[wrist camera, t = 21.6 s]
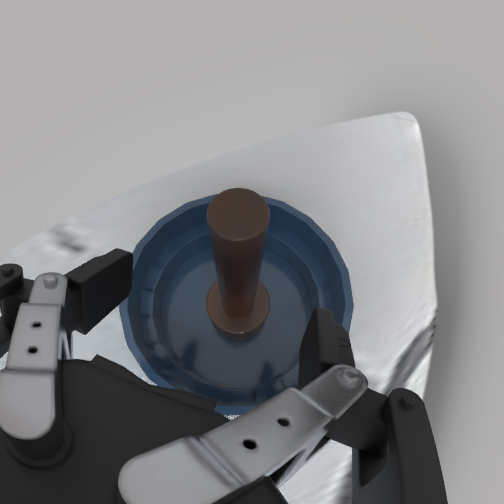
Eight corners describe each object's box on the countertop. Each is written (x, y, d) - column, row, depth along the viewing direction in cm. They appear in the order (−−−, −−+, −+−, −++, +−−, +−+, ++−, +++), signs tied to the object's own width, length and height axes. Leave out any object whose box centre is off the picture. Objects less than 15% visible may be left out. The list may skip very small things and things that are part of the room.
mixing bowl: (119, 369, 21) (88, 363, 16) (182, 212, 27) (172, 175, 22) (304, 428, 20) (323, 439, 15) (342, 255, 26) (364, 224, 21)
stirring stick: (202, 330, 22) (155, 250, 10) (219, 279, 24) (202, 155, 11) (257, 347, 22) (286, 287, 9) (272, 294, 24) (310, 181, 11)
